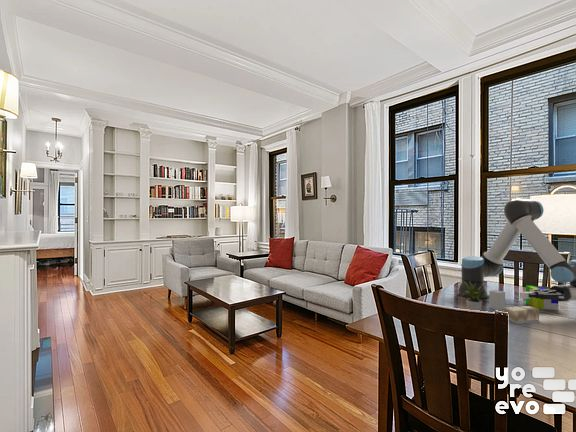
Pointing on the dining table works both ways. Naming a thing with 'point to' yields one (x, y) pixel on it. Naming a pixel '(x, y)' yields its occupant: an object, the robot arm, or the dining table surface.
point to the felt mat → (525, 321)
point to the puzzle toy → (541, 300)
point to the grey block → (497, 299)
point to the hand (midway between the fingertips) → (521, 295)
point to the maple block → (522, 313)
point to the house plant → (473, 297)
